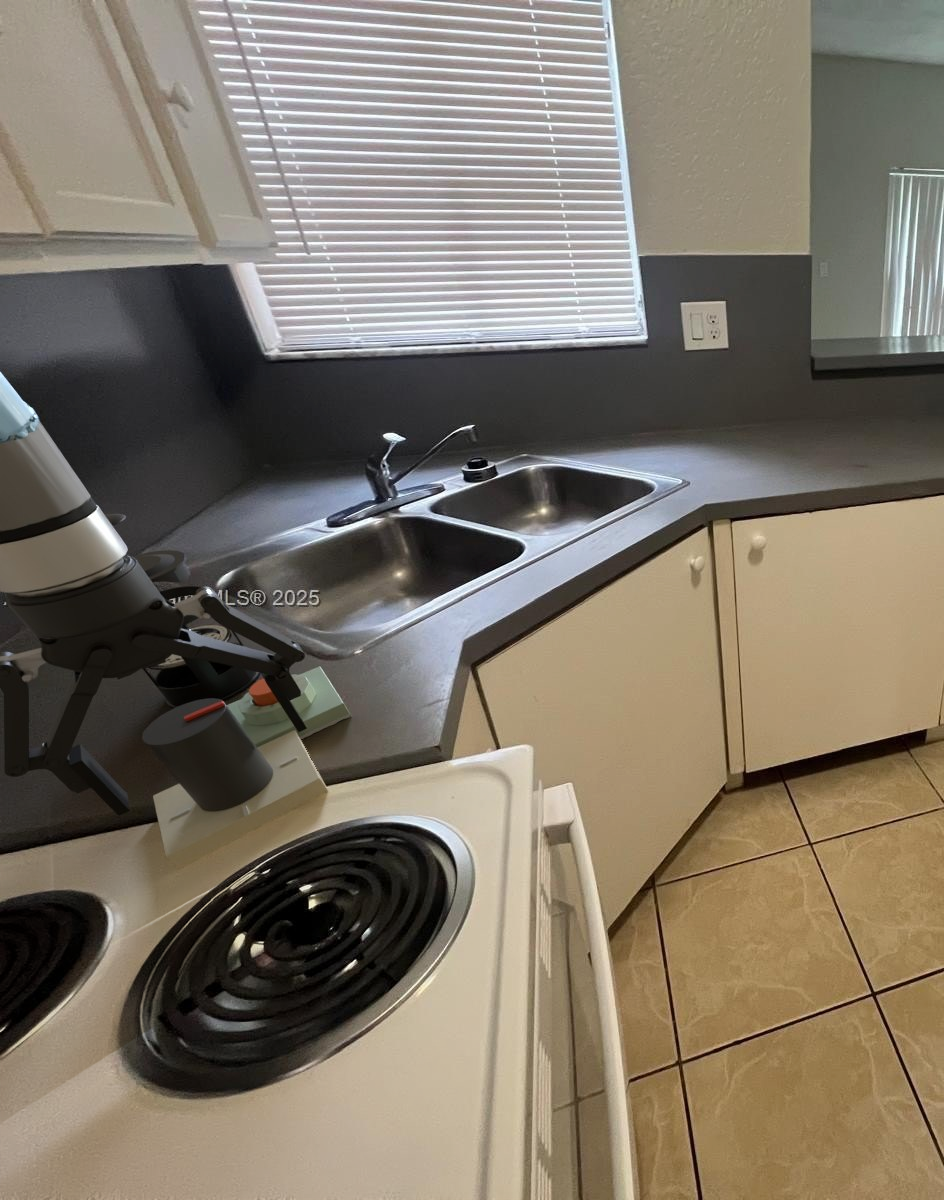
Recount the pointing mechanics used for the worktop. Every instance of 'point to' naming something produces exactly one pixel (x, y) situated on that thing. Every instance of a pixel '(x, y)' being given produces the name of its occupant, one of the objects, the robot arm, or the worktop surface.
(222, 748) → the oven knob
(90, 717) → the worktop surface
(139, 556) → the french press
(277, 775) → the panel
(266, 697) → the button
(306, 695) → the button box
